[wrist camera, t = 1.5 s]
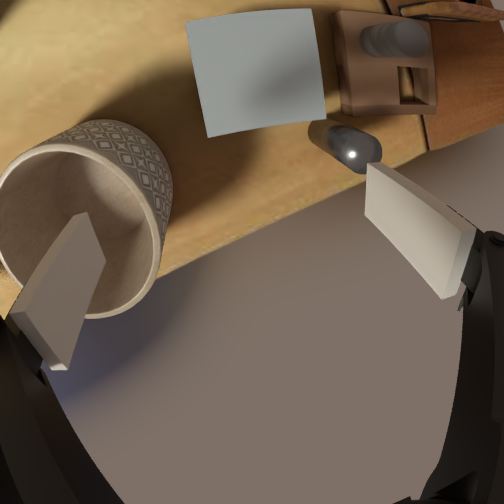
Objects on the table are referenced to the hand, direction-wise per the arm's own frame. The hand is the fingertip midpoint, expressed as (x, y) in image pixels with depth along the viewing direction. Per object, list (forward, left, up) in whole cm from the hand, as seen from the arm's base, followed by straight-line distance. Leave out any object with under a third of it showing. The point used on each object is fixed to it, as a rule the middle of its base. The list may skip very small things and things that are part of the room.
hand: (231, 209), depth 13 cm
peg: (+2, +12, -20) cm, 24 cm away
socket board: (-6, +20, -20) cm, 29 cm away
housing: (-6, +4, -20) cm, 22 cm away
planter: (+3, -14, -20) cm, 25 cm away
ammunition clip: (-14, +29, -20) cm, 38 cm away
